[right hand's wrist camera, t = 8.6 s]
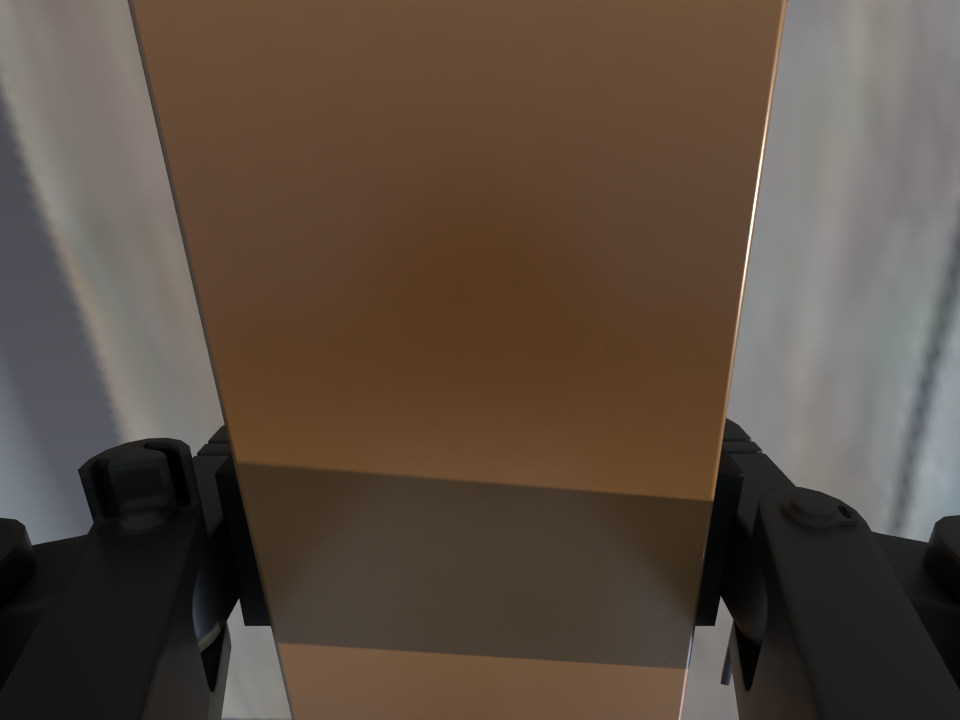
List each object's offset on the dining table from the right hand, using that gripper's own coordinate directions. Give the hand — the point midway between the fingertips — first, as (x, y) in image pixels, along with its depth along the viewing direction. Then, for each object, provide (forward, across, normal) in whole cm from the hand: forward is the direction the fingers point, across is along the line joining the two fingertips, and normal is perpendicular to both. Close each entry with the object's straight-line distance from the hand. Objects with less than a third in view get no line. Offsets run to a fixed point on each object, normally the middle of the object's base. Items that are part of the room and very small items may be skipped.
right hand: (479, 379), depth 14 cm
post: (0, +1, -34) cm, 34 cm away
